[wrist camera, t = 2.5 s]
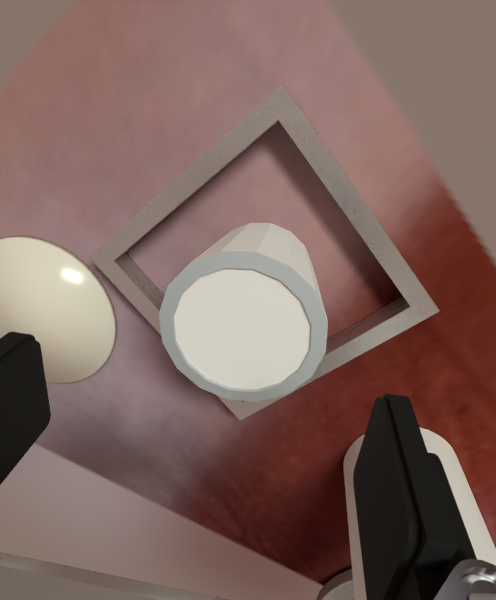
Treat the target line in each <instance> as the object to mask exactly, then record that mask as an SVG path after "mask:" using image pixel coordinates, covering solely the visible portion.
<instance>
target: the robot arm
mask: <svg viewBox="0 0 496 600" xmlns="http://www.w3.org/2000/svg"><path fill="white" fill-rule="evenodd" d="M50 416H51V413H50V406H49V400H48V393H47V386H46V379H45V372H44V366H43V359H42V352H41V346H40V343H39V342H38V341H36V339H35V337H34V336H33V335H31V334H25V333H19V332H9V333H7V334H6V335H4V336H3V337H2V338H0V484H1V483H2V482H3V481H4V479H5V478H6V477H7V476H8V475H9V473H10V472H11V471H12V470H13V468H14V467H15V466H16V465H17V463H18V462H19V461H20V460H21V458H22V457H23V456H24V455H25V453H26V452H27V451H28V450H29V448H30V447H31V446H32V445H33V443H34V442H35V441H36V440H37V438H38V437H39V436H40V435H41V433H42V432H43V431H44V430H45V428H46V427H47V426H48V423H49V421H50ZM353 486H354V495H355V503H356V512H357V520H358V529H359V538H360V546H361V555H362V563H363V572H364V581H365V589H366V598H367V600H496V566H495V565H494V564H491V563H488V562H486V561H483V560H478V559H477V558H476V555H475V552H474V549H473V547H472V544H471V541H470V538H469V536H468V533H467V530H466V528H465V525H464V522H463V519H462V517H461V514H460V511H459V509H458V506H457V503H456V500H455V498H454V495H453V492H452V490H451V487H450V484H449V481H448V479H447V476H446V473H445V470H444V468H443V465H442V462H441V460H440V458H439V457H438V456H437V455H436V454H434V453H428V452H427V449H426V446H425V443H424V440H423V437H422V434H421V431H420V428H419V425H418V422H417V419H416V416H415V413H414V410H413V407H412V404H411V402H410V399H409V398H408V397H406V396H399V395H393V394H387V393H386V394H385V395H384V397H383V398H377V399H376V400H375V403H374V407H373V410H372V413H371V416H370V419H369V423H368V426H367V429H366V432H365V436H364V439H363V442H362V445H361V448H360V452H359V455H358V458H357V461H356V465H355V468H354V473H353ZM0 600H227V599H223V598H218V597H214V596H209V595H204V594H199V593H195V592H190V591H185V590H181V589H176V588H171V587H167V586H162V585H157V584H152V583H148V582H143V581H138V580H132V579H128V578H124V577H118V576H114V575H108V574H104V573H99V572H95V571H90V570H85V569H80V568H75V567H70V566H65V565H60V564H55V563H51V562H46V561H41V560H36V559H31V558H27V557H21V556H17V555H11V554H7V553H2V552H0ZM317 600H355V598H354V586H353V574H352V569H349V570H347V571H345V572H343V573H341V574H339V575H337V576H335V577H334V578H333V579H331V580H330V581H329V582H327V583H326V584H325V586H324V587H323V588H322V590H320V592H319V595H318V597H317Z"/></svg>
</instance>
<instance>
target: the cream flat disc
mask: <svg viewBox="0 0 496 600" xmlns="http://www.w3.org/2000/svg"><path fill="white" fill-rule="evenodd" d="M9 332H19V333H25V334H31V335H33V336H34V337H35V339H36V341H38V342H39V343H40V346H41V352H42V359H43V366H44V372H45V379H46V382H47V383H72V382H76V381H80V380H82V379H85V378H87V377H89V376H91V375H92V374H94V373H95V372H96V371H97V370H99V369H100V368H101V367H102V365H103V364H104V363H105V362H106V360H107V359H108V358H109V356H110V354H111V353H112V350H113V348H114V345H115V341H116V334H117V324H116V316H115V312H114V308H113V305H112V302H111V300H110V297H109V295H108V293H107V291H106V289H105V288H104V286H103V285H102V283H101V282H100V280H99V279H98V278H97V276H96V275H95V274H94V273H93V272H92V270H91V269H90V268H89V267H88V266H87V265H86V264H84V263H83V262H82V261H81V260H80V259H79V258H77V257H76V256H75V255H73V254H72V253H70V252H69V251H67V250H65V249H64V248H62V247H60V246H58V245H56V244H54V243H51V242H48V241H45V240H42V239H38V238H33V237H25V236H15V237H7V238H2V239H0V338H2V337H3V336H4V335H6V334H7V333H9Z"/></svg>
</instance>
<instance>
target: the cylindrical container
mask: <svg viewBox="0 0 496 600" xmlns="http://www.w3.org/2000/svg"><path fill="white" fill-rule="evenodd" d="M419 428H420V427H419ZM420 431H421V434H422V437H423V440H424V443H425V446H426V449H427V452H428V453H434V454H436V455H437V456H438V457H439V458H440V460H441V462H442V465H443V468H444V470H445V473H446V476H447V479H448V481H449V484H450V487H451V490H452V492H453V495H454V498H455V500H456V503H457V506H458V509H459V511H460V514H461V517H462V519H463V522H464V525H465V528H466V530H467V533H468V536H469V538H470V541H471V544H472V547H473V549H474V552H475V555H476V558H477V559H478V560H483V561H486V562H488V563H491V564H494V565H495V566H496V549H495V547H494V544H493V542H492V539H491V537H490V535H489V532H488V530H487V528H486V525H485V523H484V520H483V518H482V516H481V513H480V511H479V508H478V506H477V504H476V501H475V499H474V497H473V494H472V492H471V489H470V487H469V485H468V482H467V480H466V478H465V475H464V473H463V470H462V468H461V466H460V463H459V461H458V459H457V456H456V454H455V452H454V450H453V449H452V447H451V446H450V445H449V444H448V443H447V441H446V440H444V439H443V438H442V437H440V436H439V435H437V434H435V433H433V432H431V431H429V430H427V429H423V428H420ZM364 436H365V434H364V435H362V436H361V437H359V438H358V439H357V440H356V441H354V443H353V444H352V445H351V446H350V447H349V449H348V451H347V453H346V455H345V458H344V463H343V468H344V480H345V492H346V504H347V515H348V527H349V539H350V551H351V562H352V574H353V586H354V598H355V600H367V598H366V589H365V581H364V572H363V563H362V555H361V546H360V538H359V529H358V520H357V512H356V503H355V495H354V486H353V473H354V468H355V465H356V461H357V458H358V455H359V452H360V448H361V445H362V442H363V439H364Z"/></svg>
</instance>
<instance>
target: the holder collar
mask: <svg viewBox="0 0 496 600" xmlns="http://www.w3.org/2000/svg"><path fill="white" fill-rule="evenodd" d="M278 121H280V123H281V124H282V126H283V127H284V129H285V130H286V131H287V133H288V134H289V136H290V137H291V138H292V140H293V141H294V143H295V144H296V145H297V147H298V148H299V150H300V151H301V153H302V154H303V155H304V157H305V158H306V160H307V161H308V162H309V164H310V165H311V167H312V168H313V170H314V171H315V172H316V174H317V175H318V177H319V178H320V179H321V181H322V182H323V184H324V185H325V186H326V188H327V189H328V191H329V192H330V194H331V195H332V196H333V198H334V199H335V201H336V202H337V203H338V205H339V206H340V208H341V209H342V210H343V212H344V213H345V215H346V216H347V218H348V219H349V220H350V222H351V223H352V225H353V226H354V227H355V229H356V230H357V232H358V233H359V235H360V236H361V237H362V239H363V240H364V242H365V243H366V244H367V246H368V247H369V249H370V250H371V251H372V253H373V254H374V256H375V257H376V259H377V260H378V261H379V263H380V264H381V266H382V267H383V268H384V270H385V271H386V273H387V274H388V275H389V277H390V278H391V280H392V281H393V283H394V284H395V285H396V287H397V288H398V290H399V291H400V292H401V294H402V295H403V296H402V297H400V298H398V299H397V300H395V301H393V302H392V303H390V304H388V305H386V306H385V307H383V308H381V309H380V310H378V311H376V312H374V313H373V314H371V315H369V316H368V317H366V318H364V319H362V320H361V321H359V322H357V323H356V324H354V325H352V326H350V327H349V328H347V329H345V330H344V331H342V332H340V333H338V334H337V335H335V336H333V337H332V338H330V339H328V340H327V342H326V352H325V354H324V356H323V358H322V359H321V361H320V363H319V365H318V366H317V368H316V370H315V372H314V373H313V375H312V377H311V378H309V379H308V380H307V381H305V382H304V383H303V384H301V385H300V386H298V387H297V388H296V389H294V390H293V391H295V390H297V389H299V388H301V387H303V386H304V385H306V384H308V383H310V382H312V381H313V380H315V379H317V378H319V377H321V376H323V375H324V374H326V373H328V372H330V371H332V370H333V369H335V368H337V367H339V366H341V365H343V364H344V363H346V362H348V361H350V360H352V359H354V358H355V357H357V356H359V355H361V354H363V353H364V352H366V351H368V350H370V349H372V348H374V347H375V346H377V345H379V344H381V343H383V342H384V341H386V340H388V339H390V338H392V337H394V336H395V335H397V334H399V333H401V332H403V331H404V330H406V329H408V328H410V327H412V326H414V325H415V324H417V323H419V322H421V321H423V320H425V319H426V318H428V317H430V316H432V315H434V314H435V313H437V312H439V310H438V308H437V307H436V305H435V303H434V302H433V300H432V299H431V297H430V296H429V294H428V293H427V292H426V290H425V289H424V287H423V286H422V284H421V283H420V281H419V280H418V278H417V277H416V275H415V274H414V273H413V271H412V270H411V268H410V267H409V265H408V264H407V262H406V261H405V259H404V258H403V257H402V255H401V254H400V252H399V251H398V249H397V248H396V246H395V245H394V243H393V242H392V241H391V239H390V238H389V236H388V235H387V233H386V232H385V230H384V229H383V227H382V226H381V225H380V223H379V222H378V220H377V219H376V217H375V216H374V214H373V213H372V211H371V210H370V209H369V207H368V206H367V204H366V203H365V201H364V200H363V198H362V197H361V195H360V194H359V193H358V191H357V190H356V188H355V187H354V185H353V184H352V182H351V181H350V179H349V178H348V177H347V175H346V174H345V172H344V171H343V169H342V168H341V166H340V165H339V163H338V162H337V160H336V159H335V158H334V156H333V155H332V153H331V152H330V150H329V149H328V147H327V146H326V144H325V143H324V142H323V140H322V139H321V137H320V136H319V134H318V133H317V131H316V130H315V128H314V127H313V126H312V124H311V123H310V121H309V120H308V118H307V117H306V115H305V114H304V112H303V111H302V110H301V108H300V107H299V105H298V104H297V102H296V101H295V99H294V98H293V96H292V95H291V94H290V92H289V91H288V89H287V88H286V86H285V85H284V84H282V85H281V86H279V87H278V88H277V89H276V90H275V91H274V92H273V93H272V94H270V95H269V96H268V97H267V98H266V99H265V100H264V101H263V102H261V103H260V104H259V105H258V106H257V107H256V108H255V109H254V110H253V111H251V112H250V113H249V114H248V115H247V116H246V117H245V118H244V119H242V120H241V121H240V122H239V123H238V124H237V125H236V126H235V127H233V128H232V129H231V130H230V131H229V132H228V133H227V134H226V135H225V136H223V137H222V138H221V139H220V140H219V141H218V142H217V143H216V144H214V145H213V146H212V147H211V148H210V149H209V150H208V151H207V152H205V153H204V154H203V155H202V156H201V157H200V158H199V159H198V160H197V161H195V162H194V163H193V164H192V165H191V166H190V167H189V168H188V169H186V170H185V171H184V172H183V173H182V174H181V175H180V176H179V177H177V178H176V179H175V180H174V181H173V182H172V183H171V184H170V185H168V186H167V187H166V188H165V189H164V190H163V191H162V192H161V193H160V194H158V195H157V196H156V197H155V198H154V199H153V200H152V201H151V202H149V203H148V204H147V205H146V206H145V207H144V208H143V209H142V210H140V211H139V212H138V213H137V214H136V215H135V216H134V217H133V218H132V219H130V220H129V221H128V222H127V223H126V224H125V225H124V226H123V227H121V228H120V229H119V230H118V231H117V232H116V233H115V234H114V235H112V236H111V237H110V238H109V239H108V240H107V241H106V242H105V243H104V244H102V245H101V246H100V247H99V248H98V249H97V250H96V251H95V252H93V253H92V254H91V255H90V256H89V258H90V259H91V260H92V261H93V262H94V263H95V264H96V265H97V267H98V268H99V269H100V270H101V271H102V272H103V273H104V274H105V275H106V276H107V277H108V278H109V280H110V281H111V282H112V283H113V284H114V285H115V286H116V287H117V288H118V289H119V290H120V291H121V293H122V294H123V295H124V296H125V297H126V298H127V299H128V300H129V301H130V302H131V303H132V304H133V305H134V307H135V308H136V309H137V310H138V311H139V312H140V313H141V314H142V315H143V316H144V317H145V318H146V320H147V321H148V322H149V323H150V324H151V325H152V326H153V327H154V328H155V329H156V330H157V331H158V333H159V334H160V335H161V328H160V320H159V311H160V308H161V305H162V302H163V299H164V295H163V294H162V293H161V292H160V290H159V289H158V288H157V287H156V286H155V285H154V284H153V283H152V281H151V280H150V279H149V278H148V277H147V276H146V275H145V274H144V273H143V271H142V270H141V269H140V268H139V267H138V266H137V265H136V264H135V262H134V261H133V260H132V259H131V258H130V257H129V256H128V255H127V254H126V251H127V250H129V249H130V248H131V247H132V246H133V245H134V244H136V243H137V242H138V241H139V240H140V239H141V238H143V237H144V236H145V235H146V234H147V233H148V232H150V231H151V230H152V229H153V228H154V227H155V226H157V225H158V224H159V223H160V222H161V221H162V220H164V219H165V218H166V217H167V216H168V215H169V214H171V213H172V212H173V211H174V210H175V209H177V208H178V207H179V206H180V205H181V204H182V203H184V202H185V201H186V200H187V199H188V198H189V197H191V196H192V195H193V194H194V193H195V192H196V191H198V190H199V189H200V188H201V187H202V186H203V185H205V184H206V183H207V182H208V181H209V180H210V179H212V178H213V177H214V176H215V175H216V174H217V173H219V172H220V171H221V170H222V169H223V168H224V167H226V166H227V165H228V164H229V163H230V162H231V161H233V160H234V159H235V158H236V157H237V156H238V155H240V154H241V153H242V152H243V151H244V150H246V149H247V148H248V147H249V146H250V145H251V144H253V143H254V142H255V141H256V140H257V139H258V138H260V137H261V136H262V135H263V134H264V133H265V132H267V131H268V130H269V129H270V128H271V127H272V126H274V125H275V124H276V123H277V122H278ZM293 391H292V392H293ZM292 392H290V393H292ZM290 393H289V394H290ZM287 395H288V394H287ZM217 396H218V395H217ZM284 396H286V395H283V396H279V397H276V398H272V399H268V400H264V401H260V402H253V401H240V400H228V399H225V398H223V397H221V396H218V397H219V398H220V400H221V401H222V402H223V403H224V404H225V405H226V406H227V407H228V408H229V409H230V410H231V411H232V413H233V414H234V415H235V416H236V417H237V418H238V419H239V420H240V421H241V420H242V419H244V418H246V417H248V416H250V415H252V414H253V413H255V412H257V411H259V410H261V409H262V408H264V407H266V406H268V405H270V404H272V403H273V402H275V401H277V400H279V399H281V398H282V397H284Z"/></svg>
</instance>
